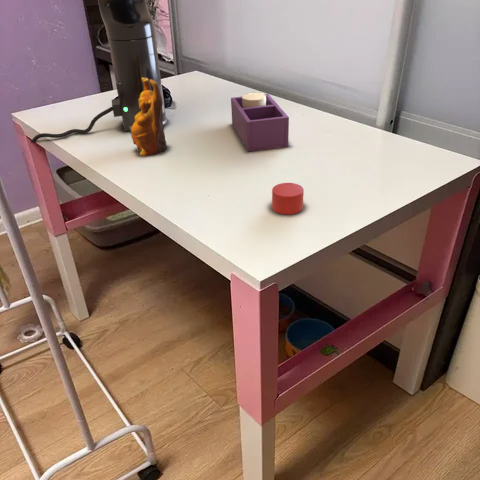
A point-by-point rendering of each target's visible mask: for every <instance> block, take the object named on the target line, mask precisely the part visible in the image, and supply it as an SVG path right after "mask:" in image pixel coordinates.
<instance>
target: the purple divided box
mask: <svg viewBox="0 0 480 480" xmlns="http://www.w3.org/2000/svg"><path fill="white" fill-rule="evenodd" d="M264 94H265V95H266V106H257V107H248V108H242V96H236V97H235V96H234V97H230V107H231V126H232V127H233V129H234V131H235V132H236V135H238V137H239V139H240V140H241V142H242V144H243V146H244V148H245V149H246V151H247V152H248V153H249V152H255V151H256V152H257V151H264V150H272V149H282V148H288V147H289V133H290V132H289V131H290V129H289V128H290V116H288V115H287V113H286V112H285V111H284V110H283V109H282V107H280V105H279V103H277V102H276V101H275V100H274V99H273V97H272V96H271V95H270V94H269V93H264Z"/></svg>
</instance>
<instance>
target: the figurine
mask: <svg viewBox="0 0 480 480" xmlns="http://www.w3.org/2000/svg"><path fill="white" fill-rule="evenodd" d="M141 79H142V82H143V83H144V91H143V92H142V93H141V94H140V98H139V108H140V109H141V111H140V112H139V113H138V114H137V115H136V116H135V122H134V124H133V125H132V128H131V131H130V133H131V139H132V142H133V145H136V147H137V149H136V151H137V152H140V153H139V155H140V156H143V157H147V156H155V155H159V154H161V153H164V152H165V151H167V148H168V146H167V140H166V135H165V128H164V126H163V108H162V96H161V94H160V89H159V86H158V83H157V82H155V81H154V80H152V79H150V81H149V79H148V78H141ZM149 82H150V83H149ZM150 84H151V85H152V87H153V91H152V90H151V85H150Z"/></svg>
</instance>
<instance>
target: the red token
mask: <svg viewBox="0 0 480 480" xmlns="http://www.w3.org/2000/svg"><path fill="white" fill-rule="evenodd" d="M271 208H272V210H273V211H274V212H275V213H277V214H279V215H295V214H298V213H299V212H302V210H303V209H304V187H303V186H302V185H300V184H298V183H294V182H281V183H277V184H275V185H274V186H273V187H272V189H271Z"/></svg>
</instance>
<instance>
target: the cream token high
mask: <svg viewBox="0 0 480 480" xmlns="http://www.w3.org/2000/svg"><path fill="white" fill-rule="evenodd" d="M265 94H266V93H262V92H249V93H245V94H243V95H242V96H241V97H242V108H248V107H257V106H266V95H265Z"/></svg>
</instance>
